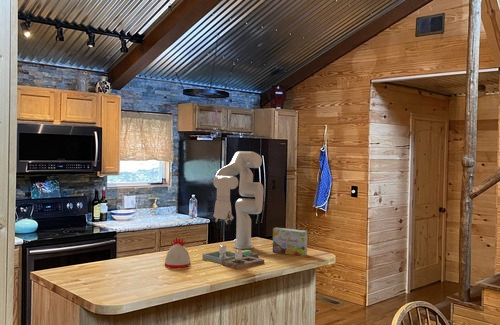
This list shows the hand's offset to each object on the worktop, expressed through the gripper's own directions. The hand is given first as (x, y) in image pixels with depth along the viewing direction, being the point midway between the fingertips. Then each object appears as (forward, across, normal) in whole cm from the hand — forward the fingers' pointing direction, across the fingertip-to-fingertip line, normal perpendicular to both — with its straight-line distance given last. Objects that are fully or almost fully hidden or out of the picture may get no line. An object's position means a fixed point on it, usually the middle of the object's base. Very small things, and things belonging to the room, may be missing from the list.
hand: (222, 229), depth 276 cm
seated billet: (+17, +17, -4) cm, 24 cm away
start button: (+17, +6, +14) cm, 23 cm away
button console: (+18, +6, +14) cm, 23 cm away
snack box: (+18, +14, +43) cm, 49 cm away
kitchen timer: (+18, -9, -25) cm, 32 cm away
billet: (+17, 0, 0) cm, 17 cm away
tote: (+18, 0, 0) cm, 18 cm away
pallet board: (+18, +17, 0) cm, 25 cm away
